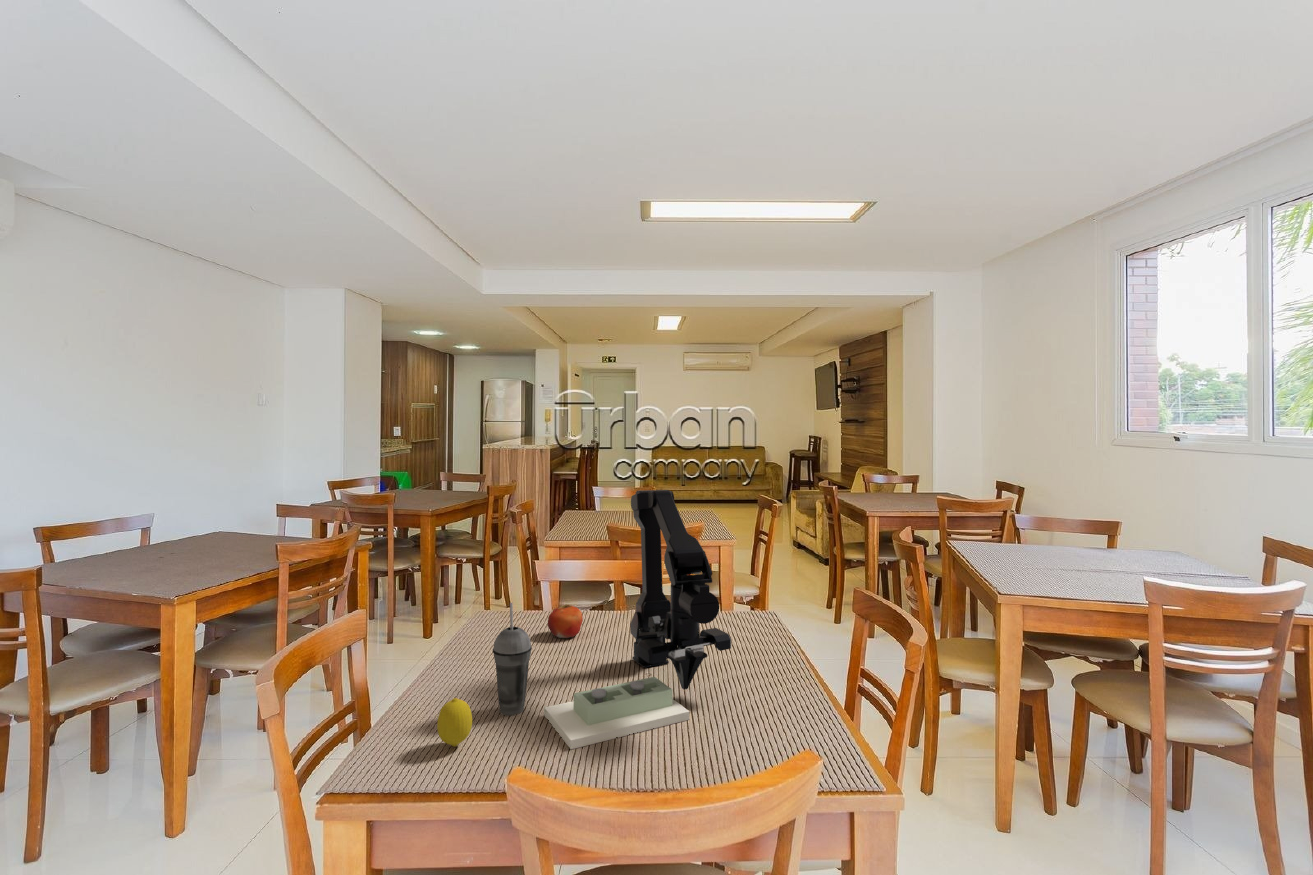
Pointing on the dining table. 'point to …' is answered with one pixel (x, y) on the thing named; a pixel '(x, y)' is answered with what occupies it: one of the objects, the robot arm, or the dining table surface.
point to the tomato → (565, 621)
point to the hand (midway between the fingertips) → (684, 688)
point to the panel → (622, 701)
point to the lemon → (454, 722)
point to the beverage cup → (512, 667)
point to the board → (583, 734)
